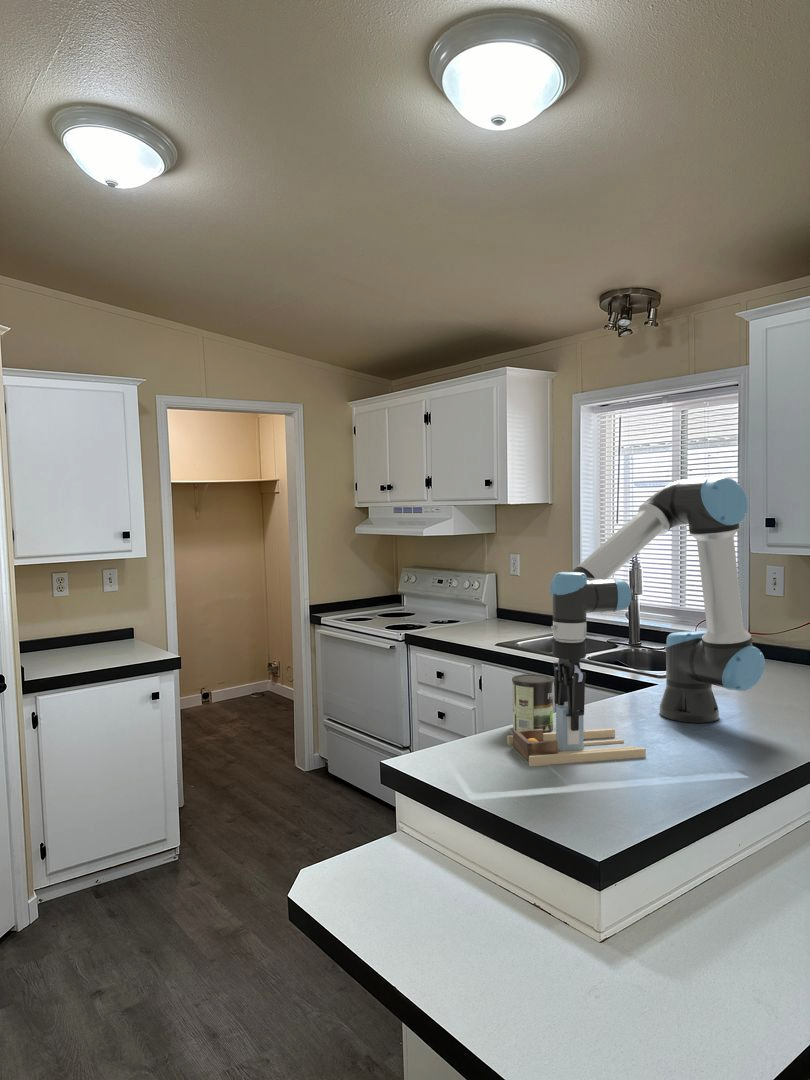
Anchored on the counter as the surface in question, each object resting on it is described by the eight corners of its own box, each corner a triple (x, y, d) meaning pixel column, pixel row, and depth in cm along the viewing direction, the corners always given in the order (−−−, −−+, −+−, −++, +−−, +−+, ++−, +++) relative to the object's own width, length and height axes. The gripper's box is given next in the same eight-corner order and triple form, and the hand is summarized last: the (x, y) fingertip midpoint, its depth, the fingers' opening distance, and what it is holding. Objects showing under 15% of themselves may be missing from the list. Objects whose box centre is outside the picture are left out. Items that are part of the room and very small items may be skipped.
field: (613, 740, 178) (613, 728, 178) (645, 762, 162) (645, 748, 162) (507, 747, 173) (507, 735, 173) (530, 771, 158) (530, 757, 158)
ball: (530, 754, 168) (539, 741, 168) (536, 759, 164) (545, 746, 165) (519, 745, 167) (528, 733, 168) (524, 750, 164) (533, 737, 164)
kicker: (576, 746, 170) (576, 700, 170) (583, 752, 166) (583, 704, 166) (556, 748, 169) (555, 701, 169) (562, 753, 165) (562, 705, 165)
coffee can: (553, 728, 189) (553, 674, 189) (553, 740, 179) (553, 683, 178) (513, 726, 191) (513, 673, 191) (511, 738, 181) (510, 682, 180)
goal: (541, 745, 172) (541, 728, 172) (557, 759, 162) (557, 741, 162) (513, 747, 170) (513, 730, 170) (527, 761, 161) (527, 743, 161)
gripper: (540, 634, 175) (540, 730, 175) (568, 646, 158) (568, 753, 158) (569, 633, 176) (569, 729, 177) (600, 645, 159) (600, 751, 160)
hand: (568, 740), depth 168 cm, fingers closed on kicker, 4 cm apart
